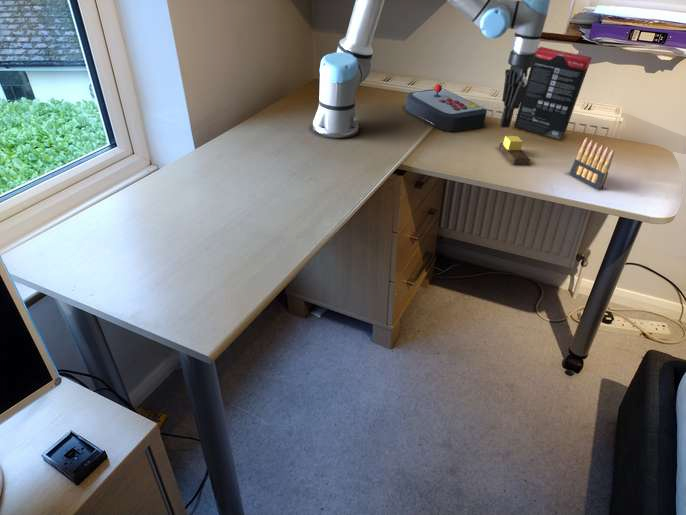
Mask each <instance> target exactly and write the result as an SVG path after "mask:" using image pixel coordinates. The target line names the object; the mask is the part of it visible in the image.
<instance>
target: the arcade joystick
mask: <svg viewBox="0 0 686 515" xmlns="http://www.w3.org/2000/svg"><path fill="white" fill-rule="evenodd" d="M404 109H405V110H406V111H407V112H408V113H410V114H412V115H413V116H415V117H417V118H418V119H420V120H422V121H424V122H425V123H427V124H429V125H431V126H432V127H433V128H436V129H440V130H443V131H447V132H459V131H460V132H461V131H467V130H472V129H479V128H484V125H485V121H486V116H487V112H488V110H487V109H486V108H485V107H483V106H481V105H478V104H476V103H474V102H472V101H470V100H468V99H466V98H464V97H462V96H460V95H458V94H456V93H454V92H451V91H450V90H447V89H445V88H443V86H442V84H440V83H439V84H435V85H434V87H433V88H431V89H430V88H429V89H424V90H418V91H417V90H416V91H411V92H408V93H407V95H406V100H405V108H404ZM419 116H420V117H419ZM421 117H422V118H421ZM423 118H424V119H423ZM425 119H426V120H428V121H430V122H432V123H433V124H434V125H433V124H431V123H430V122H428V121H426V120H425Z"/></svg>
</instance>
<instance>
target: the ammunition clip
mask: <svg viewBox="0 0 686 515" xmlns="http://www.w3.org/2000/svg"><path fill="white" fill-rule="evenodd" d="M588 141H589V137H586V138H585V139H584V141H582V144H581V146H580V148H579V150H578V153H577V156H576V158H575V159H574V161H573V163H572V166H571V168H570V171H569V173H568V175H569V176H571V177H573V178H575V179H577V180H579V181H581V182H583V183H585V184H587V185H588V186H590V187H591V188H594V189H596V190H597V191H598V190H603V188H604V186H605V183H606V181H607V178H608V175H609V170H610V167H611V165H612V161H613V157H614V154H615V150H614V149H611V151H610V153H609V150H610V148H609V146H607V147H606V148H605V149H604V144H601V145H600V147H599V142H596V143H595V144H594V141H593V139H591V140H590V142H589V143H588ZM593 145H594V146H593ZM603 150H604V151H603Z"/></svg>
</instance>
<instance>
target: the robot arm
mask: <svg viewBox="0 0 686 515" xmlns="http://www.w3.org/2000/svg"><path fill="white" fill-rule="evenodd" d="M446 2H448V3H449V4H451V6H453V7H454V8H455V9H456V10H458V11H459V12H460V13H462V15H464V16H465V17H466V18H468V19H469V20H470V21H471V22H472V23H473V24H474V25H475V26H476V27H478V28H479V29H480V31H481V33H482V34H483V36H485V37H486V38H488V39H498V38H500V37H502V36H504V35H505V33H506V32H507V31H508V29H510V30H515V32H514V35H513V38H512V43H511V51H510V52H509V57H508V60H507V63H508V65H510V68H509V69H505V71H504V74H505V78H504V84H503V92H502V100H501V101H502V102H503V106H504V107H503V112H502V116H501V119H500V123H499V127H500V128H510V127H511V122H512V118H513V115H514V110H516V109H518V110H519V107H520V104H521V101H522V98H523V96H524V93H525V91H526V88H527V87H528V85H529V84H530V81H527V80H528V71H529V69H531V67H532V66H533V64H534V61H535V57H536V55H535V53H536V52H537V49H538V48H539V45H540V43H541V38H542V35H543V31H544V27H545V23H546V21H547V16H548V13H549V7H550V3H551V0H446ZM384 4H385V0H355V2H354V5H353V9H352V13H351V16H350V20H349V24H348V28H347V31H346V34H345V37H343V38H342V39H340V40H339V42H338V46H337V49H336V52H332V53H327V54H326V55H324V56H323V57H322V59H321V60H320V66H319V96H318V98H319V100H318V108H317V110H316V114H315V116H314V119H313V121H312V130H313V132H314V133H316V134H317V135H319V136H322V137H325V138H330V139H347V138H352V137H354V136H356V135H357V134H358V133H359V127H360V126H359V121H358V115H357V113H356V108H355V107H356V96H357V95H356V94H357V93H356V92H357V88H358V87H359V86H360V85H361V84H362V83H363V82H364V81H365V80H366V79H367V77H368V76H369V74H370V71H371V65H372V64H371V63H372V62H371V60H372V57H373V55H374V50H373V48H372V43H373V39H374V37H375V32H376V29H377V26H378V23H379V20H380V16H381V13H382V10H383V7H384Z"/></svg>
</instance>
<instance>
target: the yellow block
mask: <svg viewBox="0 0 686 515" xmlns="http://www.w3.org/2000/svg"><path fill="white" fill-rule="evenodd" d="M523 142H524V141H523V140H522V139H521V138H520V137H519V136H518V135H505V136H504V139H503V142H502V143H503V145H504V146H505V147H506V148H507V150H522V147H523Z"/></svg>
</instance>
